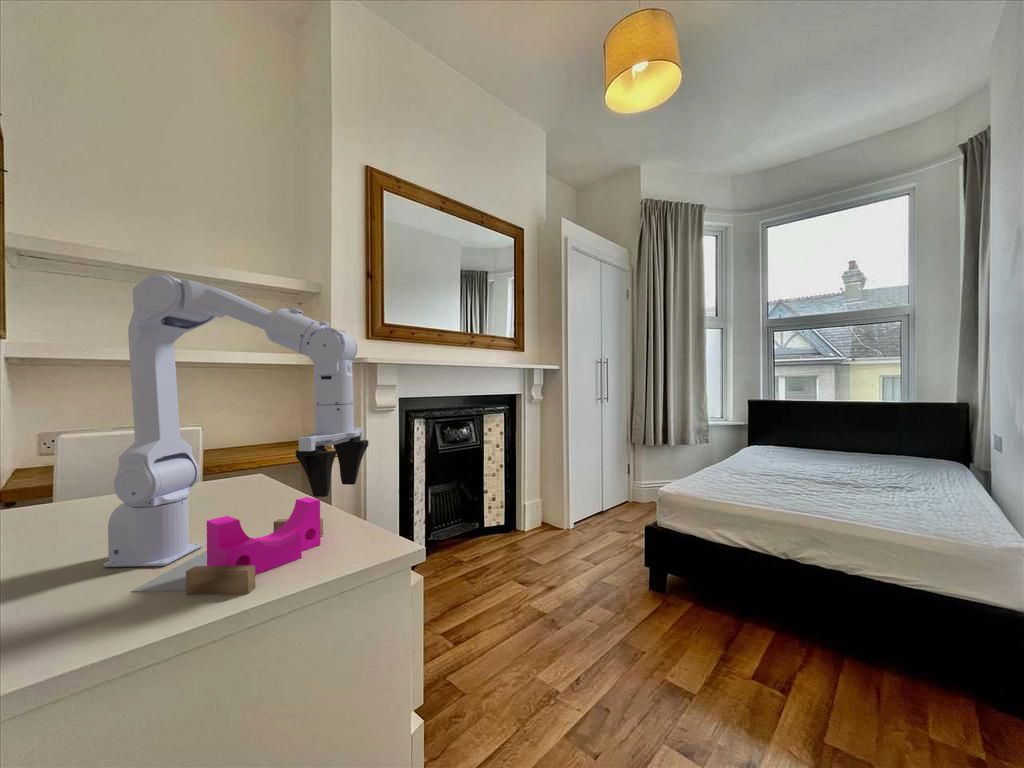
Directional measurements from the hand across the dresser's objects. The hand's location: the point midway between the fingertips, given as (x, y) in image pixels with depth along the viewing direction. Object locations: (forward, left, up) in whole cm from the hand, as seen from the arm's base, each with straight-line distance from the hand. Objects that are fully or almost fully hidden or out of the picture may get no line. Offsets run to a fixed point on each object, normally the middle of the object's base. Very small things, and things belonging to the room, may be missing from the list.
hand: (335, 489), depth 67 cm
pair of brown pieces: (-10, -2, -10) cm, 14 cm away
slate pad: (-18, -2, -10) cm, 21 cm away
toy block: (-9, -2, -10) cm, 14 cm away
